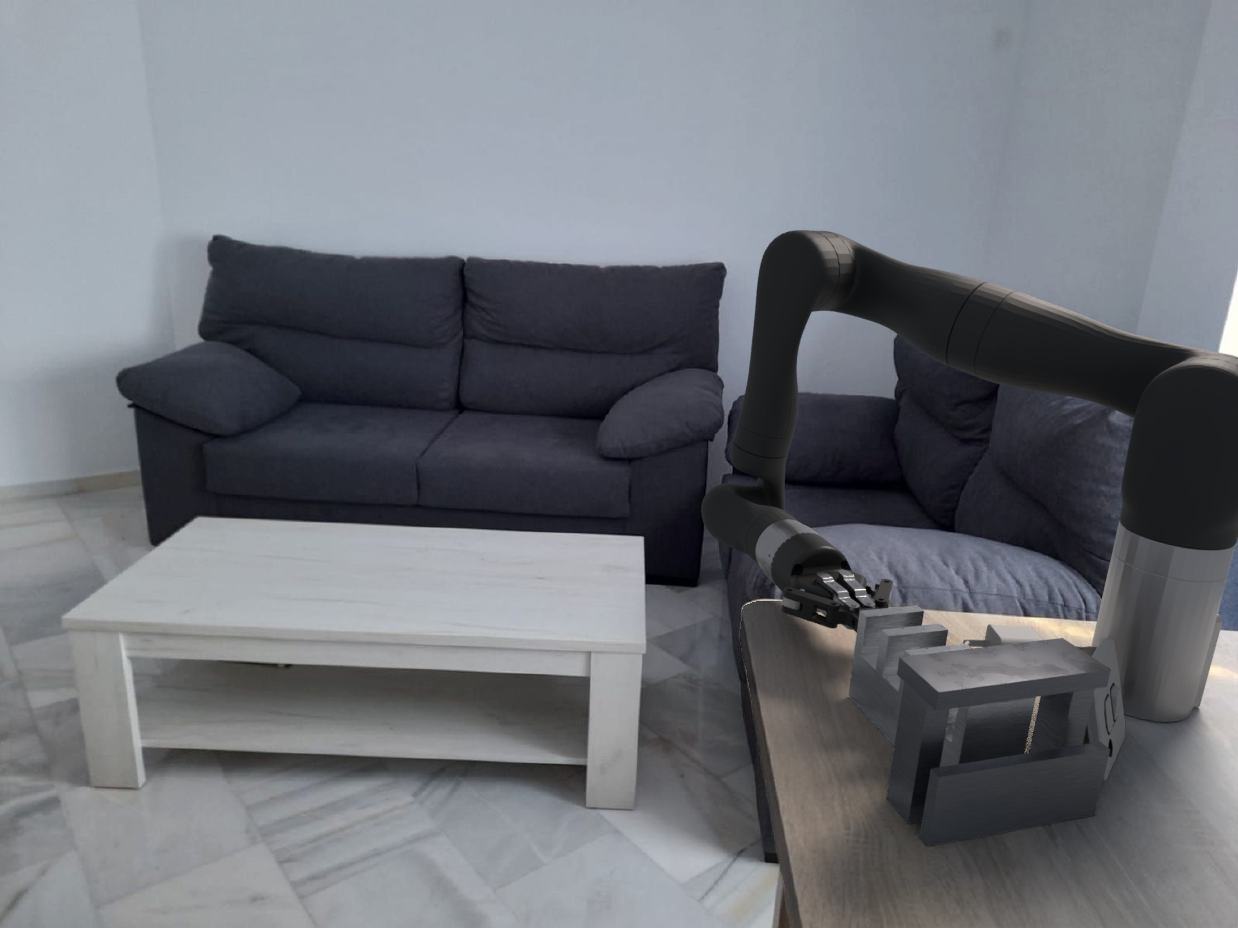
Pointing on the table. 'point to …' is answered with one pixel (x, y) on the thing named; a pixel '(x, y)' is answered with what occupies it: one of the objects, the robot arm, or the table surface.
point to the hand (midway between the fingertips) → (883, 636)
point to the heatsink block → (881, 688)
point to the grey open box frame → (1008, 786)
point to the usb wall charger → (1005, 636)
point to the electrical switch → (1106, 705)
